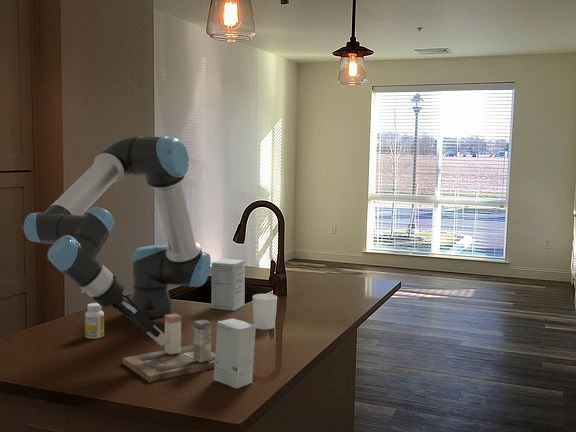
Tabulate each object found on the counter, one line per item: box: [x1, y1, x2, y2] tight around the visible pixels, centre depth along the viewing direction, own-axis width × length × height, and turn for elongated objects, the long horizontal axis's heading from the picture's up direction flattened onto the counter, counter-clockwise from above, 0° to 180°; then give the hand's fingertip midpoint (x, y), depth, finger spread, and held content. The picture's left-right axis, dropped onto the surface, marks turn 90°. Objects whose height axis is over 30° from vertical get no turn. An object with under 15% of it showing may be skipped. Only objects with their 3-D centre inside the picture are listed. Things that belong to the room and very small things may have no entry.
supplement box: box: [210, 258, 246, 312], centre depth 224 cm, size 10×9×17 cm
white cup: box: [252, 293, 278, 331], centre depth 200 cm, size 8×8×10 cm
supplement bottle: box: [84, 302, 105, 340], centre depth 185 cm, size 5×5×10 cm
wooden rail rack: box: [122, 319, 215, 383], centre depth 163 cm, size 22×16×12 cm
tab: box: [164, 313, 182, 355], centre depth 167 cm, size 3×3×10 cm
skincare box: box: [213, 317, 256, 389], centre depth 151 cm, size 8×6×15 cm
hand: (164, 341), depth 165 cm, fingers closed
